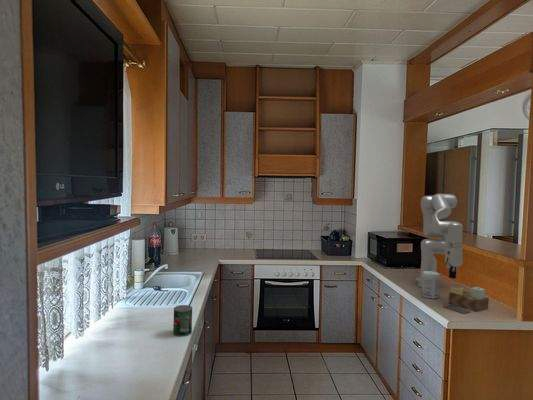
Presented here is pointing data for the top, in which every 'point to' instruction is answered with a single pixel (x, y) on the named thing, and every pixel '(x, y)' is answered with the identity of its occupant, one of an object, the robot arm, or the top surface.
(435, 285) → the supplement tub
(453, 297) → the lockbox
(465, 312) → the mat
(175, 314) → the canned tomato
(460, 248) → the robot arm
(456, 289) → the t bolt
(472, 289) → the cover
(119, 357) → the top surface
